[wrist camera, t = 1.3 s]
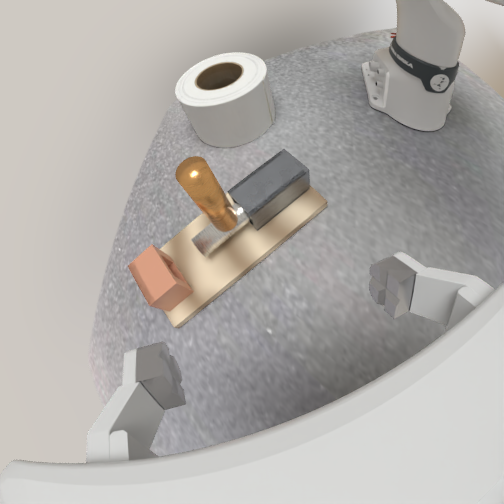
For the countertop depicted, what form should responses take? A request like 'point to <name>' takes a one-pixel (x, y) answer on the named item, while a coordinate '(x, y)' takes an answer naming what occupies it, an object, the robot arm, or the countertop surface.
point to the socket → (159, 279)
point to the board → (232, 253)
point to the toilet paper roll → (227, 99)
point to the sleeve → (271, 188)
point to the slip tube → (210, 204)
